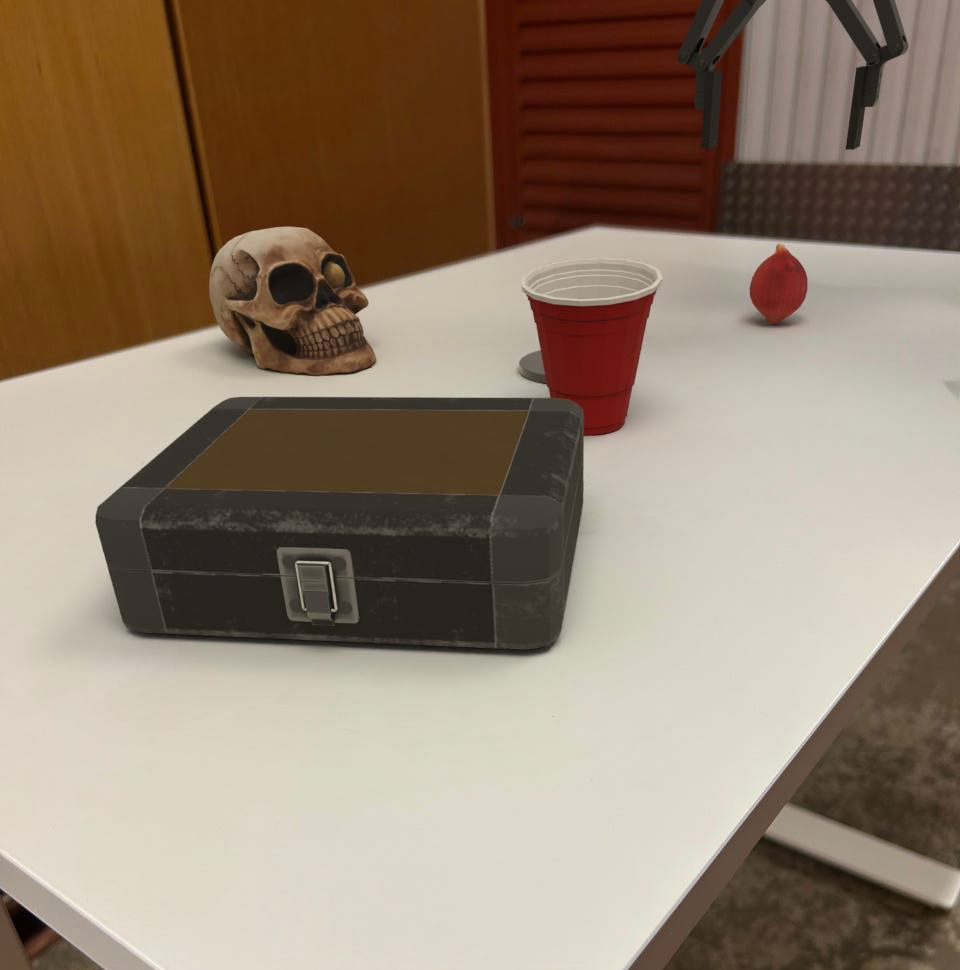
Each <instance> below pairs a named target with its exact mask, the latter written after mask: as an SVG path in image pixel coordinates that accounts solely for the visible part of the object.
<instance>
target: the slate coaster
mask: <svg viewBox="0 0 960 970" xmlns="http://www.w3.org/2000/svg"><path fill="white" fill-rule="evenodd" d="M518 371H519V374H520V375H521V376H522V377H524V378H526V379H527V380H529V381H533V382H536V383H540V384H541V383H542V384H546V385H547V383H546V377H545V372H544V366H543V360H542V355H541V349H539V350H536V351H532V352H530V353H527V354H525V355H523V356H522V357H521V358H520V359H519V361H518Z"/></svg>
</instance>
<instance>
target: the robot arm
mask: <svg viewBox="0 0 960 970" xmlns="http://www.w3.org/2000/svg"><path fill="white" fill-rule="evenodd" d="M766 1H767V0H740V1H739V2H738V3H737V5H736V6H735V8H734V9H733V10H732V12H731V13H730V14H729V16H728V17H727V19H726V20H725V21H724V22H723V24H722V25H721V26H720V28H719V29H718V30H717V32H716V33H715V34H714V36H713V37H712V38H711V40H710V41H709V43H708V44H707V46H705V47H704V49H703V46H704V45H705V42H706V40H707V38H708V36H709V33H710V31H711V30H712V27H713V25H714V23H715V21H716V18H717V16H718V15H719V12H720V10H721V8H722V6H723V4H724V2H725V0H701V2H700V5H699V7H698V9H697V11H696V13H695V15H694V18H693V20H692V22H691V24H690V26H689V29H688V31H687V33H686V35H685V38H684V40H683V42H682V44H681V45H680V48H679V50H678V53H677V55H676V59H677V62H678V63H679V64H681V65H685V66H688V67H690V68H692V69H693V70H694V72H695V85H694V86H695V87H694V88H695V89H694V101H693V102H694V107H695V110H703V112H702V113H703V114H702V129H701V143H700V144H701V146H700V149H701V150H710V149H712V148H715V147H718V138H719V127H720V126H719V124H720V114H721V113H720V111H721V99H722V83H723V69H720V70H719V69H718V70H714V69H715V68H716V65H717V64H718V62H719V61H720V60H721V59H722V57H723V56H724V54H725V53H726V52H727V51H728V49H729V48H730V47H731V45H732V44H733V43H734V41H735V40H736V39H737V37H738V36H739V35H740V34H741V32H742V31H743V30H744V29H745V27H746V26H747V24H748V23H749V22H750V21H751V19H752V18H753V17H754V15H755V14H756V13H757V12H758V10H759V9H760V8H761V7H762V6H763V5H764V4H765V3H766ZM825 1H826V3H827V4H828V5H829V7H830V8H831V10H832V12H833V13H834V14H835V16H836V18H837V19H838V21H839V23H840V24H841V25H842V27H843V28H844V30H845V31H846V33H847V35H848V36H849V38H850V39H851V41H852V43H853V44H854V45H855V47H856V48H857V50H858V52H859V53H860V56H862V58H863V59H864V61H865V65H862V66H858V67H856V68H855V75H854V80H853V81H854V82H853V89H852V96H851V97H852V98H851V105H850V111H849V112H850V113H849V120H848V127H847V135H846V141H845V142H846V143H845V150H847V151H849V150H850V151H851V150H853V151H854V150H856V149H857V148H859V147H860V146H861V141H862V135H863V126H864V118H865V113H866V108H873V107H875V106H876V105H877V103H878V102H879V98H880V91H881V85H882V77H883V71H884V67H885V65H886V64H887V63H888V62H889V61H891V60H894V59H897V58H898V57H901V56H903V55H905V54H907V52H908V50H909V42H908V39H907V35H906V33H905V29H904V26H903V22H902V20H901V16H900V12H899V9H898V6H897V3H896V0H872V1H873V4H874V8H875V11H876V15H877V18H878V21H879V25H880V27H881V31H882V34H883V37H884V40H885V44H886V45H883V46H882V45H881V44H880V42H879V40H878V39H877V37H876V36H875V34H874V33H873V31H872V30H871V28H870V27H869V25H868V23H867V21H866V20H865V18H863V17H864V16H862V14H861V12H860V11H859V10H858V8H857V6H856V5H855V3H854V2H853V0H825ZM702 49H703V50H702ZM701 51H702V52H701Z"/></svg>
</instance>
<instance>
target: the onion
mask: <svg viewBox="0 0 960 970" xmlns="http://www.w3.org/2000/svg"><path fill="white" fill-rule="evenodd" d="M752 275H753V276H752V277H751V281H750V283H749V298H750V301H751V303H752V305H753V306H754V307H755V309H756V310H757V311H758V312H759V313H760V314H761V315H762V316H763V317H764V318H765V319H766V321H767V322H768V323H769V324H772V325H776V324H779V323H780V322H782V321H784V320H785V319H786V318H789V316H791V315H793V314H794V313H795V312H797V310H798V309H800V308H801V307H802V306H803V305H802V304H803V303H804V302H805V300H806V297H807V295H808V294H807V293H808V289H809V288H808V285H809V284H808V281H809V280H808V279H809V278H808V275H807V272H806V269H805V267H804V266H803V264H802V263H801V261H800V260H799V259H798V258H797V257H795V255H793V254H792V253H791V252H790V250H788V248H786V245H785V244H783V243H777V244H776V246H775V251H774V253H773V254H772V255H770V256H768V257H767V258H766V259H765V260H763V261H762V262H761V263H760V265H759V266H757V268H756V269H755V271H754V273H753V274H752Z"/></svg>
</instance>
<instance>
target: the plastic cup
mask: <svg viewBox="0 0 960 970" xmlns="http://www.w3.org/2000/svg"><path fill="white" fill-rule="evenodd" d="M663 280H664V277H663V274H662V272H661V269H658V268H656V267H655V266H653V265H650V264H648V263H646V262H641V261H637V260H632V259H626V258H613V257H591V258H590V257H588V258H587V257H586V258H574V259H573V258H572V259H567V260H562V261H557V262H550V263H548V264H545V265H542V266H538V267H537V268H533V269H530V271H528V272H527V273H526V274H524V275H523V276H522V277H521V278H520V287H521V291H522V292H523V294H525V295H526V297H527V301H529V306H530V310H531V311H532V315H533V321H534V323H535V326H536V333H537V337H538V344H539V350H541V355H542V360H543V366H544V372H545V377H546V383H547V384H546V383H545V384H546V387H547V388H548V392H549V398H561V399H568V400H570V401H573V402H575V403H577V404H578V405H579V406H580V407H581V408H582V410H583V413H584V436H592V435H593V436H595V435H596V436H597V435H603V434H608V433H612V432H615V431H617V430H620V429H621V428H622V427H623V426H624V425H625V422H626V418H627V417H628V413H629V408H630V407H629V406H630V401H631V397H632V390H633V386H635V382H636V377H637V372H638V368H639V363H640V357H641V353H642V348H643V342H644V337H645V332H646V327H647V322H648V319H649V318H650V315H651V314H650V313H651V307H652V305H653V303H654V300H655V295H656V294H657V291H658V289H659V288H660V286H661V285H662V284H663Z"/></svg>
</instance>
